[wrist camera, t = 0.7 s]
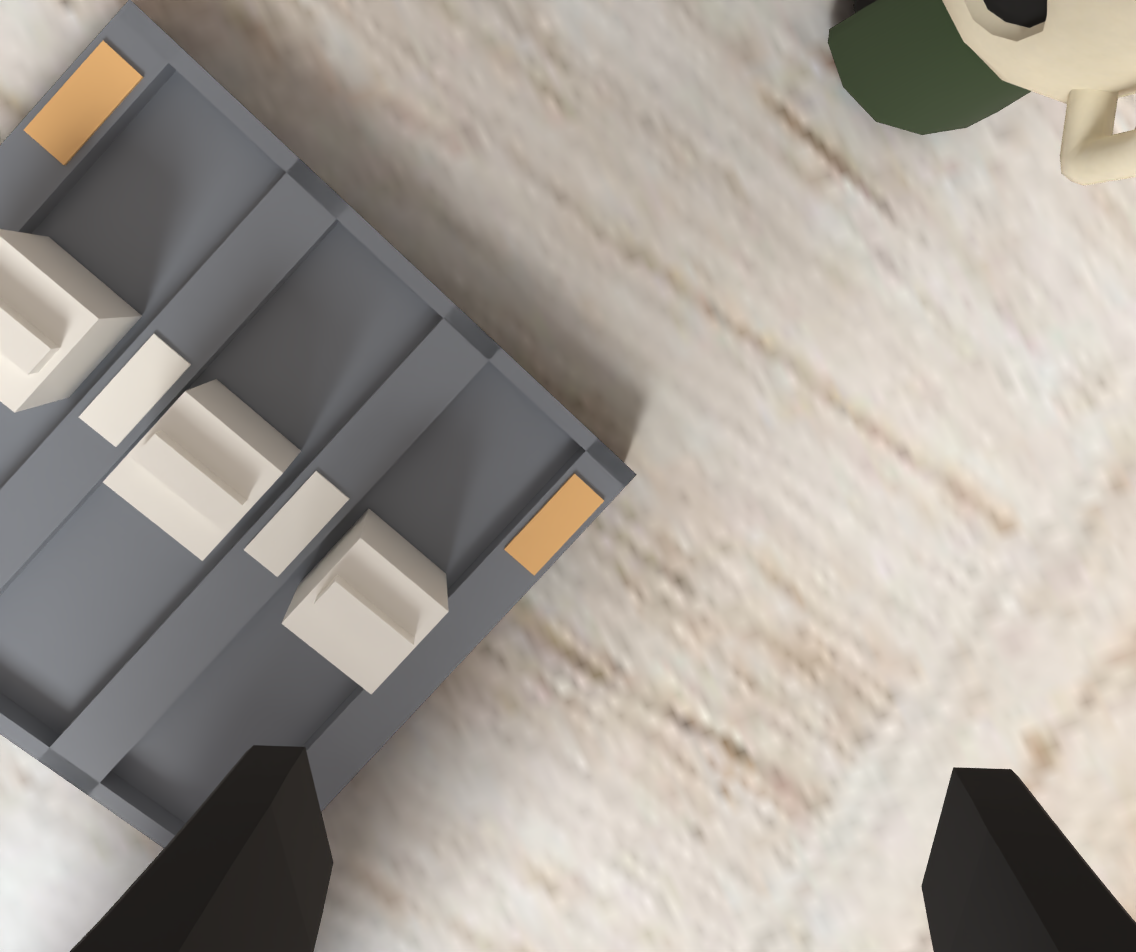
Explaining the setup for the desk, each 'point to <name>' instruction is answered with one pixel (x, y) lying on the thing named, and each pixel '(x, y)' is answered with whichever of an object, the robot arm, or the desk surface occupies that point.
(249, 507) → the tab
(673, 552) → the desk surface
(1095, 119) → the character mug
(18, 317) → the tab
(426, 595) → the tab
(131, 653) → the switch bank
